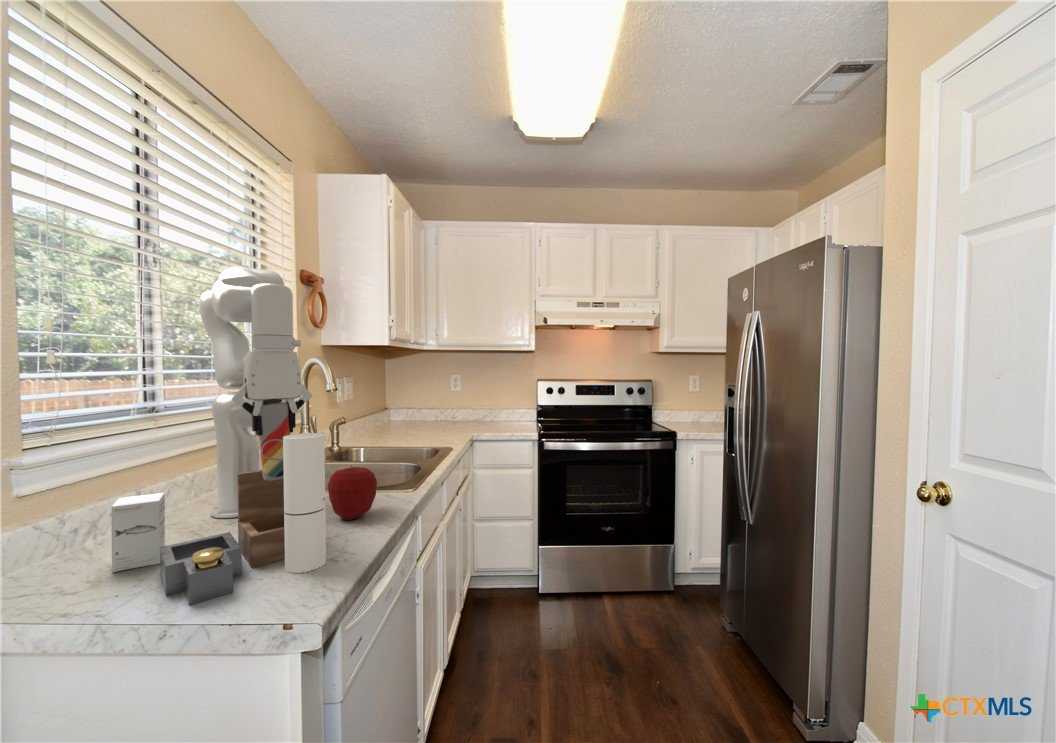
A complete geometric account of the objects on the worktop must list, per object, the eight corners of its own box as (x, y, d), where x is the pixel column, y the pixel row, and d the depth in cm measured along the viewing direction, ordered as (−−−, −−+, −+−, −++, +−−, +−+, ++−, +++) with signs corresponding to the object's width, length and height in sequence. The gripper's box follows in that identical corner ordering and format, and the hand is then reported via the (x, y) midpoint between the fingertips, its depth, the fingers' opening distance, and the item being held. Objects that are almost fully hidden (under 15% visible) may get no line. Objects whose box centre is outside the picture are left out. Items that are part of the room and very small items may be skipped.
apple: (366, 525, 109) (366, 470, 109) (318, 525, 109) (318, 470, 109) (383, 509, 121) (383, 459, 121) (340, 509, 121) (339, 459, 121)
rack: (238, 549, 96) (237, 473, 95) (295, 535, 103) (294, 465, 103) (251, 568, 87) (250, 484, 86) (312, 551, 94) (311, 474, 94)
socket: (160, 573, 84) (159, 547, 84) (230, 556, 92) (229, 532, 92) (169, 611, 71) (169, 579, 71) (249, 587, 79) (249, 558, 79)
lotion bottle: (280, 481, 91) (271, 381, 90) (256, 480, 92) (246, 383, 91) (300, 472, 97) (291, 379, 95) (277, 472, 98) (268, 380, 97)
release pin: (191, 586, 78) (190, 552, 77) (221, 577, 81) (221, 545, 80) (194, 595, 74) (193, 560, 74) (226, 586, 77) (225, 552, 77)
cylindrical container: (330, 555, 92) (328, 432, 92) (320, 571, 85) (318, 438, 85) (292, 558, 91) (290, 433, 90) (279, 574, 84) (277, 439, 83)
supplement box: (110, 574, 85) (109, 506, 84) (119, 559, 91) (118, 496, 91) (161, 564, 88) (159, 500, 88) (166, 551, 95) (165, 491, 95)
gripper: (310, 346, 102) (312, 427, 102) (220, 344, 91) (222, 435, 91) (322, 345, 97) (323, 430, 97) (227, 343, 85) (229, 440, 85)
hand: (274, 432), depth 94 cm, fingers closed on lotion bottle, 5 cm apart
